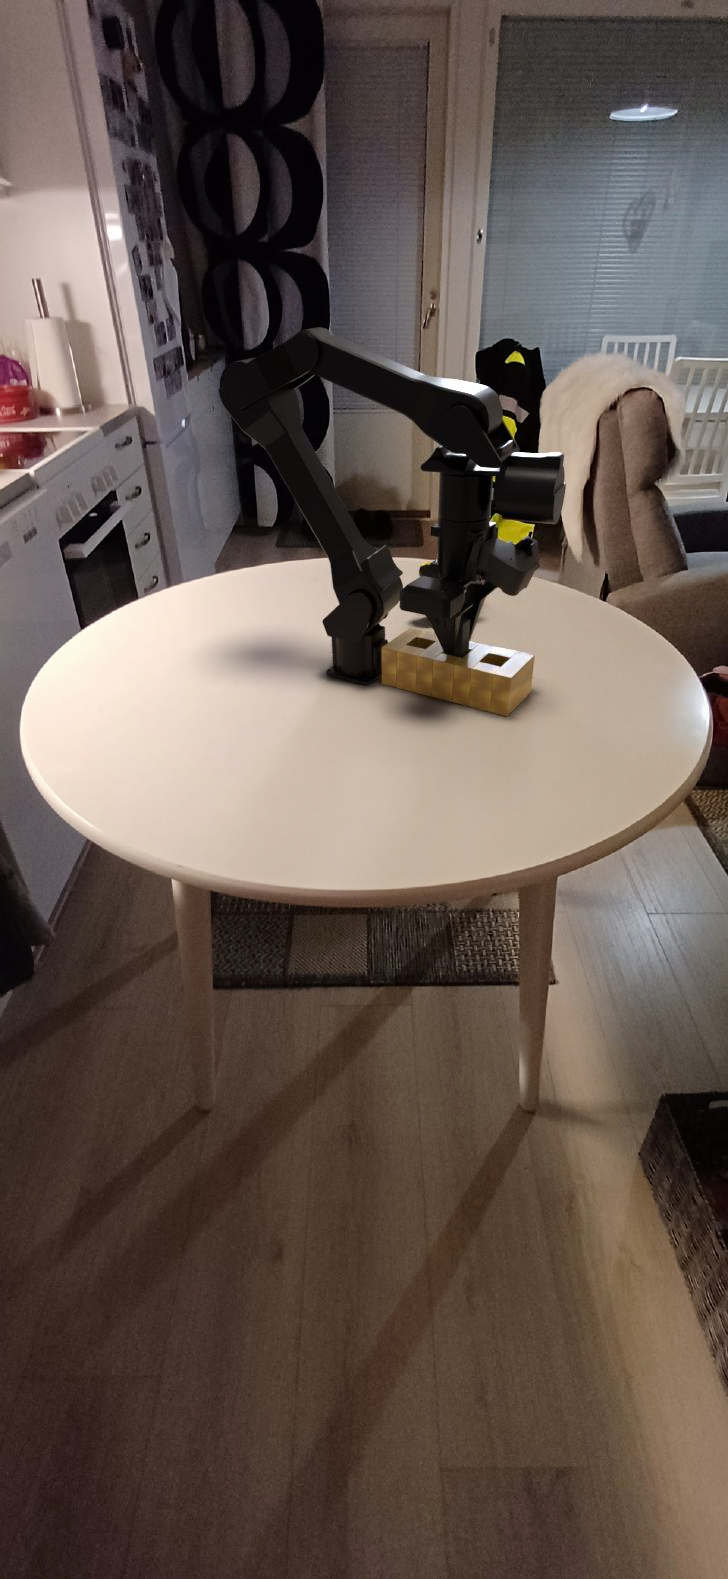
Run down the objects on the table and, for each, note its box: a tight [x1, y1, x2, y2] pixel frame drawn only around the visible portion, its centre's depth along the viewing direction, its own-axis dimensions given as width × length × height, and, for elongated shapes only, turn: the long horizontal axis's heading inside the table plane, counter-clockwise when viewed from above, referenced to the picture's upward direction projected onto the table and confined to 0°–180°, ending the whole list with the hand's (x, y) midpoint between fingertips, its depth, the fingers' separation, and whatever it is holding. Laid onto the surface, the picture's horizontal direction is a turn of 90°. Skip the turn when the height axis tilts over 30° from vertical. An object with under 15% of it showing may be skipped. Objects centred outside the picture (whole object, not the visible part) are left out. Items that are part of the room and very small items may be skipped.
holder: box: [381, 627, 536, 717], centre depth 95 cm, size 17×7×5 cm, turn 58°
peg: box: [447, 617, 470, 658], centre depth 94 cm, size 2×2×9 cm
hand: (457, 647), depth 94 cm, fingers open, 4 cm apart
